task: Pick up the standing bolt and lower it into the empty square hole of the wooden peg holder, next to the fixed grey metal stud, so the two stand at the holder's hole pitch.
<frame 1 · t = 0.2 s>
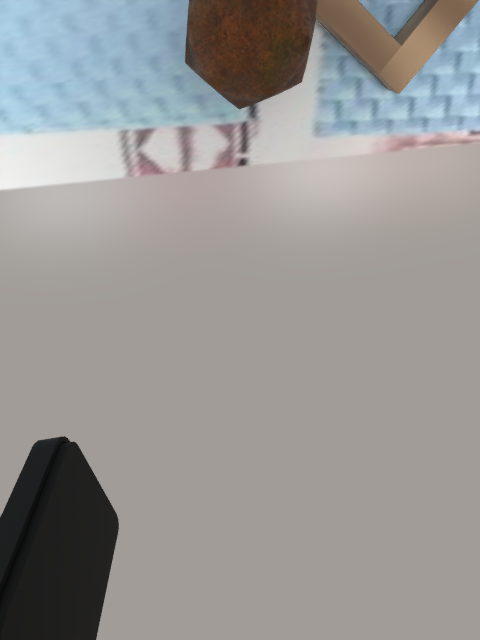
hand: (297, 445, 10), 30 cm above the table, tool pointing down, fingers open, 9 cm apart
bolt: (238, 27, 31), on the table
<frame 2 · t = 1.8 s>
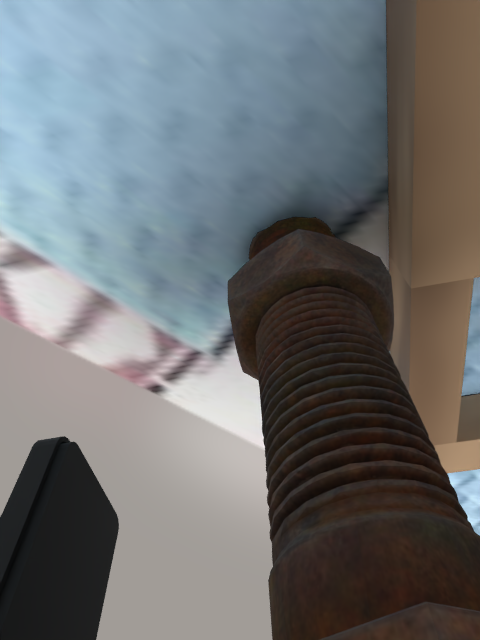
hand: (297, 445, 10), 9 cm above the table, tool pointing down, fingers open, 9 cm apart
bolt: (291, 247, 17), on the table
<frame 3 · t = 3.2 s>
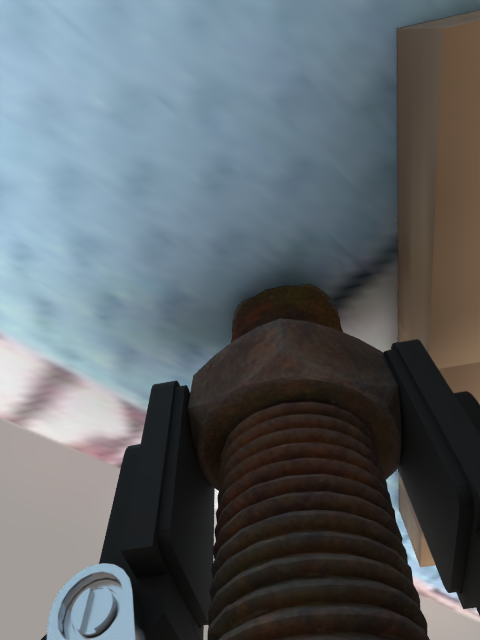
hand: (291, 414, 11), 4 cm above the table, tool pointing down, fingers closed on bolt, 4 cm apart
bolt: (284, 314, 14), on the table, touching gripper
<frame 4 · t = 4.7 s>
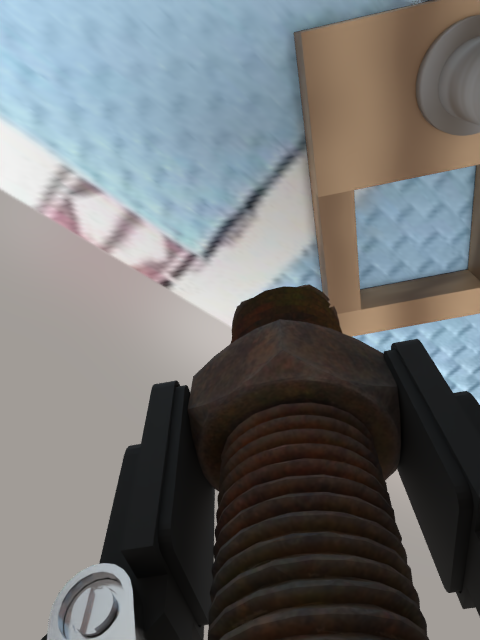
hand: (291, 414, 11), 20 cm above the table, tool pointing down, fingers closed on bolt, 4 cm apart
bolt: (283, 315, 14), point 16 cm above the table, touching gripper
wooden peg holder: (409, 180, 28), on the table
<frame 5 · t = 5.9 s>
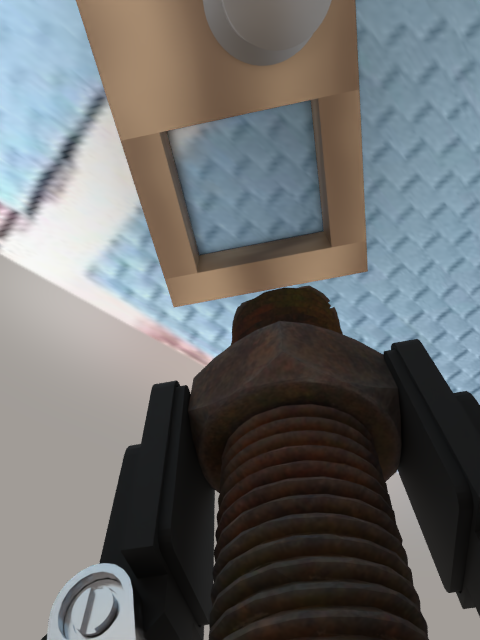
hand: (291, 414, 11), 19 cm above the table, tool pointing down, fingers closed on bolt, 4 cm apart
bolt: (283, 316, 14), point 15 cm above the table, touching gripper
wooden peg holder: (239, 127, 25), on the table
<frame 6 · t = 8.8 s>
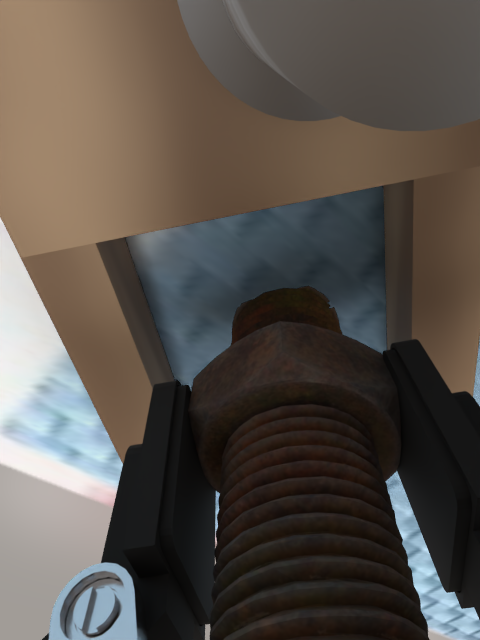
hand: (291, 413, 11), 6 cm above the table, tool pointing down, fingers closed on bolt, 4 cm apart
bolt: (283, 316, 14), point 1 cm above the table, touching gripper
wooden peg holder: (251, 215, 14), on the table
when the fingers open (6 cm above the table, at t = 8.9 s): bolt drops 1 cm, resting in wooden peg holder.
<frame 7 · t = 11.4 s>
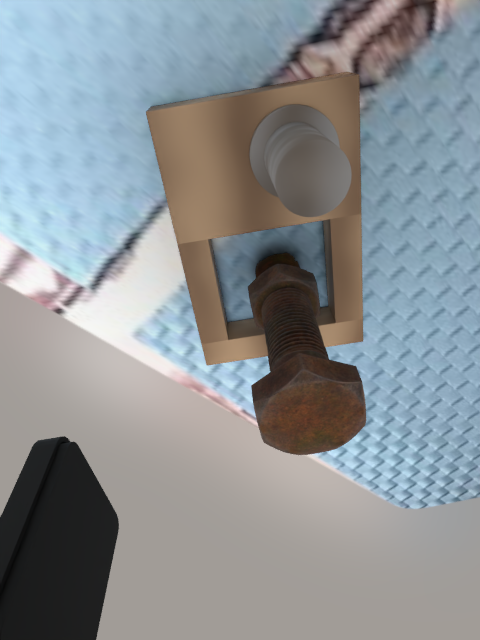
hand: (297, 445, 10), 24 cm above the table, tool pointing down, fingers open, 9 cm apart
bolt: (276, 266, 34), resting in wooden peg holder
wooden peg holder: (266, 230, 32), on the table
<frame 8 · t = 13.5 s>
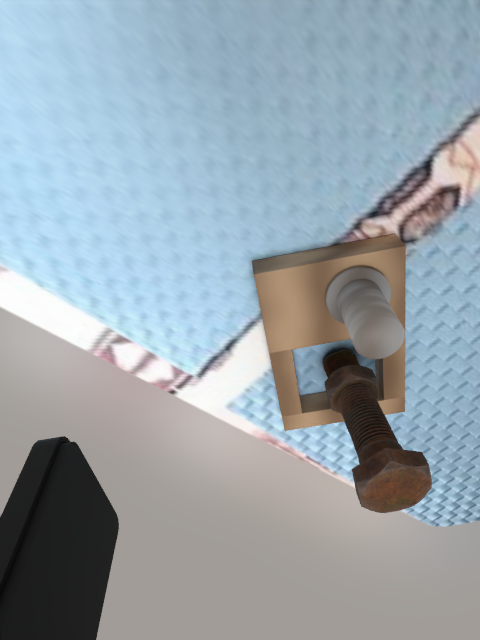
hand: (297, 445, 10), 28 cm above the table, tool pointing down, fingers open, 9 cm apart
bolt: (337, 357, 45), resting in wooden peg holder
wooden peg holder: (331, 334, 43), on the table
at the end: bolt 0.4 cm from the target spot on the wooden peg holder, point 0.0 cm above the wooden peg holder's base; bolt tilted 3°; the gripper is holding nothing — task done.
